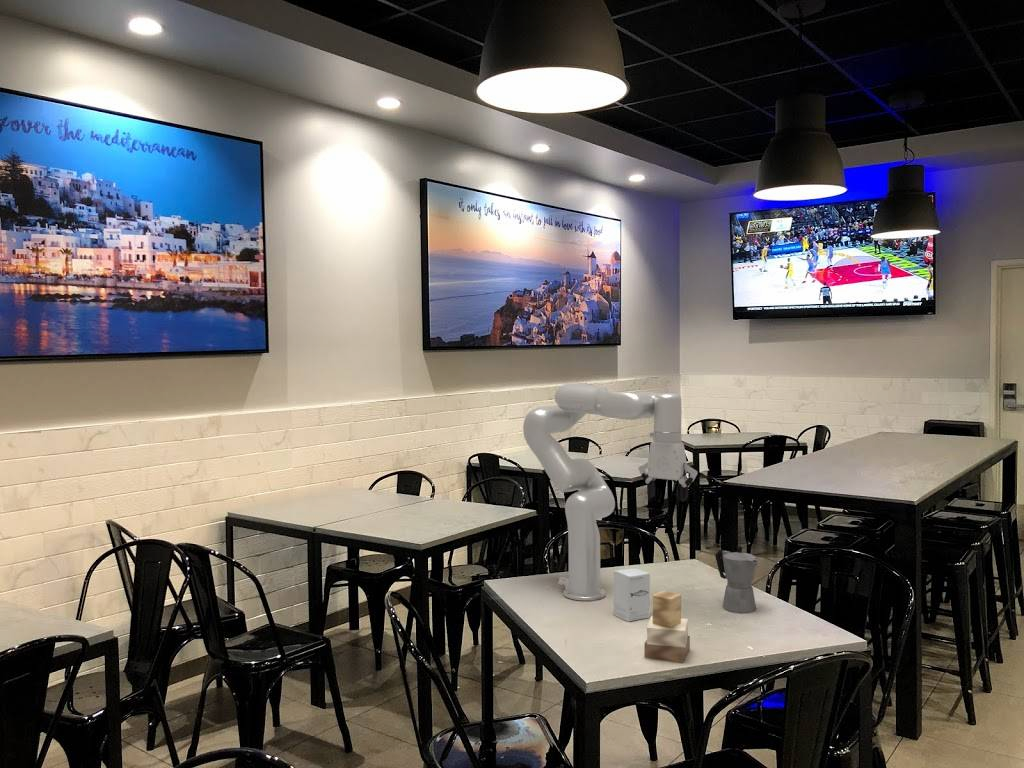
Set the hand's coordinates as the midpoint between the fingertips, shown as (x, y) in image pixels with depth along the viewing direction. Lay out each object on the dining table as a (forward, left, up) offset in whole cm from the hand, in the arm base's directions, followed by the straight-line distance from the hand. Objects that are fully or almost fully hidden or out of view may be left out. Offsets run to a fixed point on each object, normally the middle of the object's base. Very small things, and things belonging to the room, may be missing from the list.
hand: (667, 498), depth 233 cm
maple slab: (+13, -28, -29) cm, 43 cm away
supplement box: (-7, -8, -32) cm, 34 cm away
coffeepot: (+14, +16, -32) cm, 39 cm away
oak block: (+13, -29, -25) cm, 40 cm away
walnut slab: (+13, -28, -33) cm, 45 cm away
